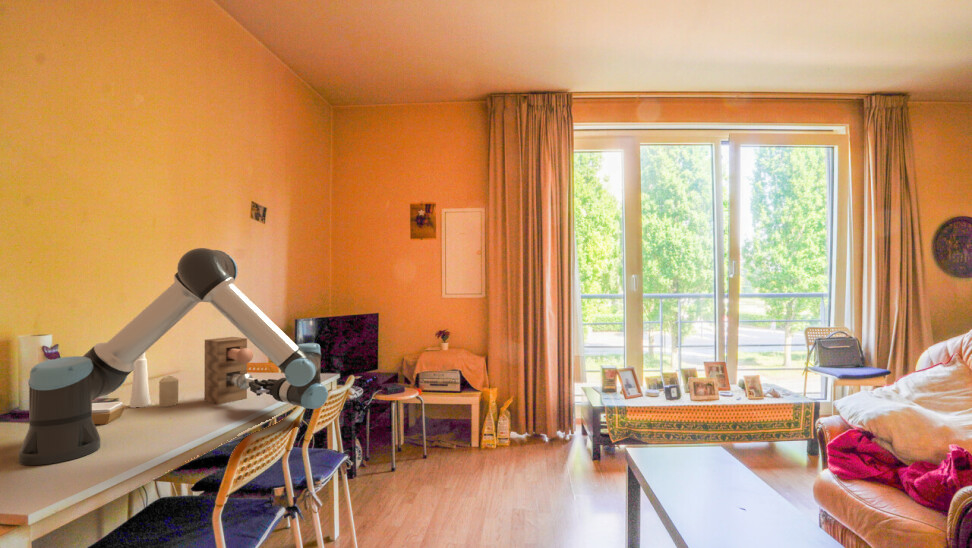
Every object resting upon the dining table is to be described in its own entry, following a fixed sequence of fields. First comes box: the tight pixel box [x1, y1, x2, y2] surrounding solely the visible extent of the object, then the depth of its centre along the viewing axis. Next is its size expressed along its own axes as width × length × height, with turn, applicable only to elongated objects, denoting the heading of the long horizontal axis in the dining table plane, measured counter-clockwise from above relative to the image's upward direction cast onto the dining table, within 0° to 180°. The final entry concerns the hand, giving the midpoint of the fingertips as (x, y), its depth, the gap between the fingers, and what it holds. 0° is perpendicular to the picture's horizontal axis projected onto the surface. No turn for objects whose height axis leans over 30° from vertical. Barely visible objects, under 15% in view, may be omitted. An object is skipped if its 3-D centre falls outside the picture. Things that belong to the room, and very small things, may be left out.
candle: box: [158, 375, 179, 408], centre depth 162 cm, size 6×6×10 cm
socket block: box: [203, 336, 248, 405], centre depth 169 cm, size 10×10×22 cm
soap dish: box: [92, 401, 127, 425], centre depth 143 cm, size 12×10×5 cm
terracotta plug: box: [226, 347, 254, 364], centre depth 165 cm, size 11×5×5 cm, turn 57°
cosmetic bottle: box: [128, 351, 152, 409], centre depth 161 cm, size 6×6×22 cm
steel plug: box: [226, 373, 254, 390], centre depth 165 cm, size 11×5×5 cm, turn 57°
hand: (248, 382), depth 161 cm, fingers closed
